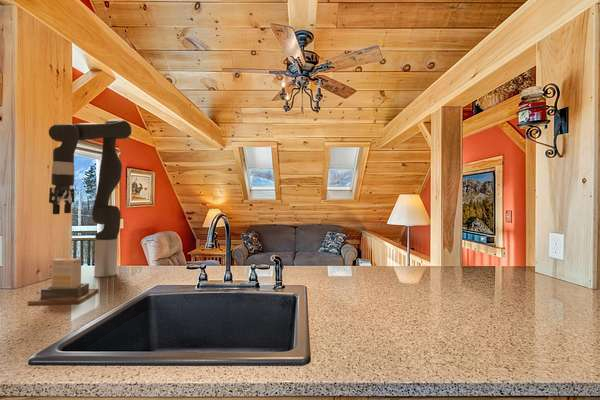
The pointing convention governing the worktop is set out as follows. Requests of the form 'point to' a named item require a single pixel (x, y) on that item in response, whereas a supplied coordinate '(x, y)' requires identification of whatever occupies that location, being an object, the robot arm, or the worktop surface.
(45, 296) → the slot holder
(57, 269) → the supplement box
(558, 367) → the worktop surface
